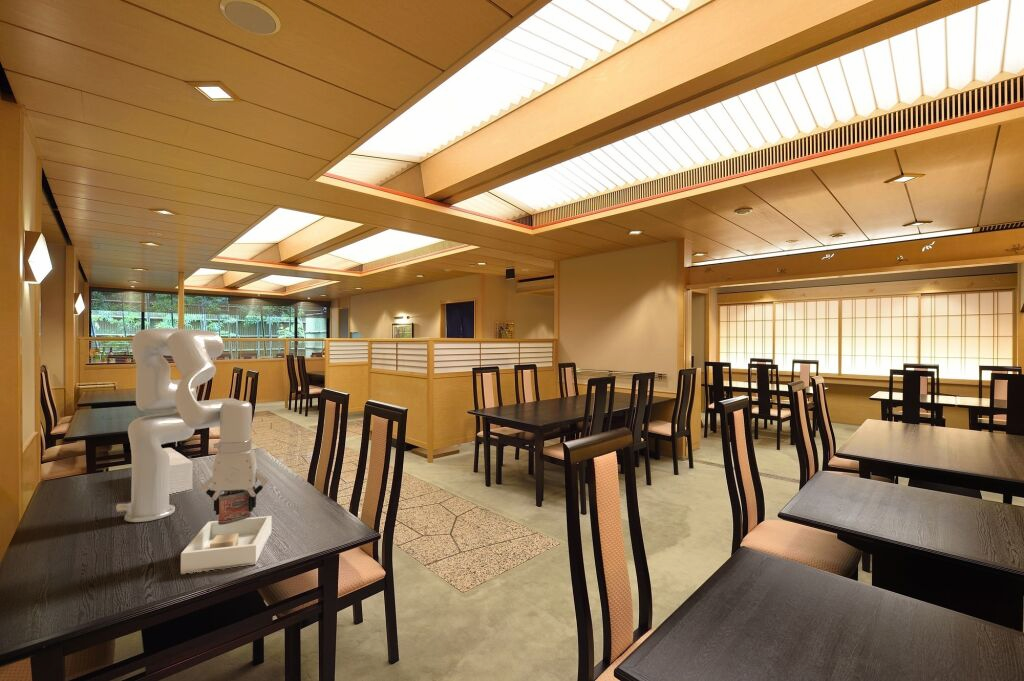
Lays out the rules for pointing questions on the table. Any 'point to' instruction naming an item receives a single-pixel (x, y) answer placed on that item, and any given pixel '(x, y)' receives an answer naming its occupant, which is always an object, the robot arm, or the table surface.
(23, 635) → the table surface
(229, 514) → the lighter
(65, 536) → the table surface
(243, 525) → the tote
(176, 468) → the white long block
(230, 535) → the cube
